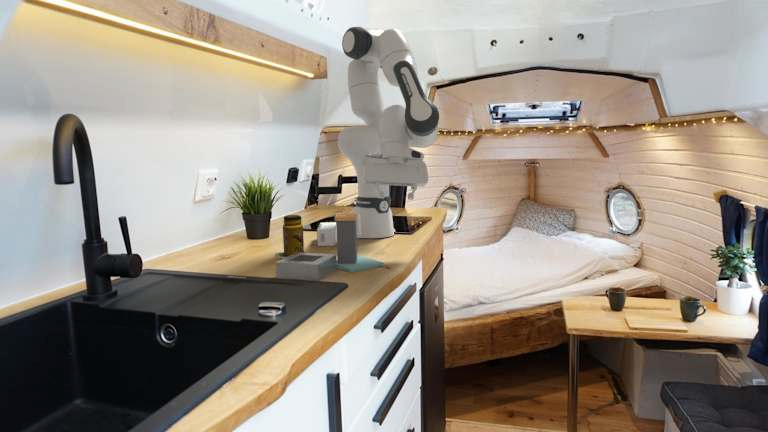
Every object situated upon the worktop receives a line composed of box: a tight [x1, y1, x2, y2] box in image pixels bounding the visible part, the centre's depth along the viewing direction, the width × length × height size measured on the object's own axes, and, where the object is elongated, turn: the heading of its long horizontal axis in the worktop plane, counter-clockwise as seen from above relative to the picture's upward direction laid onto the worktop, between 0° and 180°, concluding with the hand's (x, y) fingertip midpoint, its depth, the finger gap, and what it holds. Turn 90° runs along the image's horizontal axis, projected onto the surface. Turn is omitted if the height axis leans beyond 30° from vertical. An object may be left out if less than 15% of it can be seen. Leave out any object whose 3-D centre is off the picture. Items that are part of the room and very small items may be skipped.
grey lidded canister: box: [334, 213, 358, 264], centre depth 141 cm, size 6×6×13 cm
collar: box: [275, 252, 337, 281], centre depth 133 cm, size 12×12×4 cm
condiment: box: [275, 214, 305, 259], centre depth 154 cm, size 7×8×12 cm
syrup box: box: [316, 221, 337, 247], centre depth 174 cm, size 6×6×14 cm
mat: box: [336, 255, 385, 273], centre depth 141 cm, size 11×11×1 cm
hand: (395, 198), depth 154 cm, fingers open, 8 cm apart
